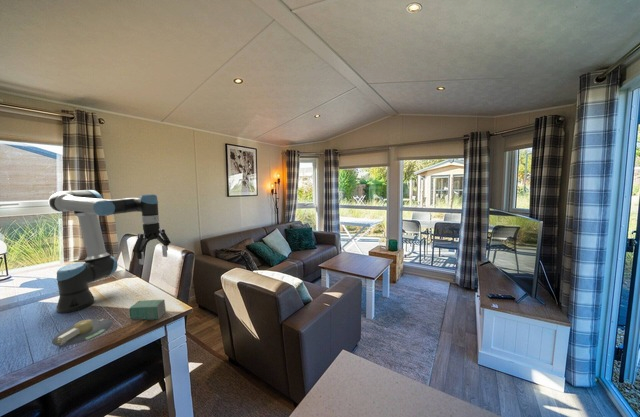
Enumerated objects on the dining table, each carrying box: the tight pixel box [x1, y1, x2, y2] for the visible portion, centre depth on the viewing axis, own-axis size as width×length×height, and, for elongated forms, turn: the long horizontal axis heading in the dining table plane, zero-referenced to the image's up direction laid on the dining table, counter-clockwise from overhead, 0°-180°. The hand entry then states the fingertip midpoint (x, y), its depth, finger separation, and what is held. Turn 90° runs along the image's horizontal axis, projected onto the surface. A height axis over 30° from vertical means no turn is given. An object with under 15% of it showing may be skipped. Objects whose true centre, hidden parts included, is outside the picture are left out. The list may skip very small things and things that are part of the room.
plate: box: [51, 318, 113, 347], centre depth 113 cm, size 20×20×2 cm
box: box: [129, 299, 167, 321], centre depth 127 cm, size 7×14×8 cm, turn 95°
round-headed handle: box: [57, 318, 93, 343], centre depth 109 cm, size 13×6×4 cm, turn 176°
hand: (154, 260), depth 137 cm, fingers open, 13 cm apart
